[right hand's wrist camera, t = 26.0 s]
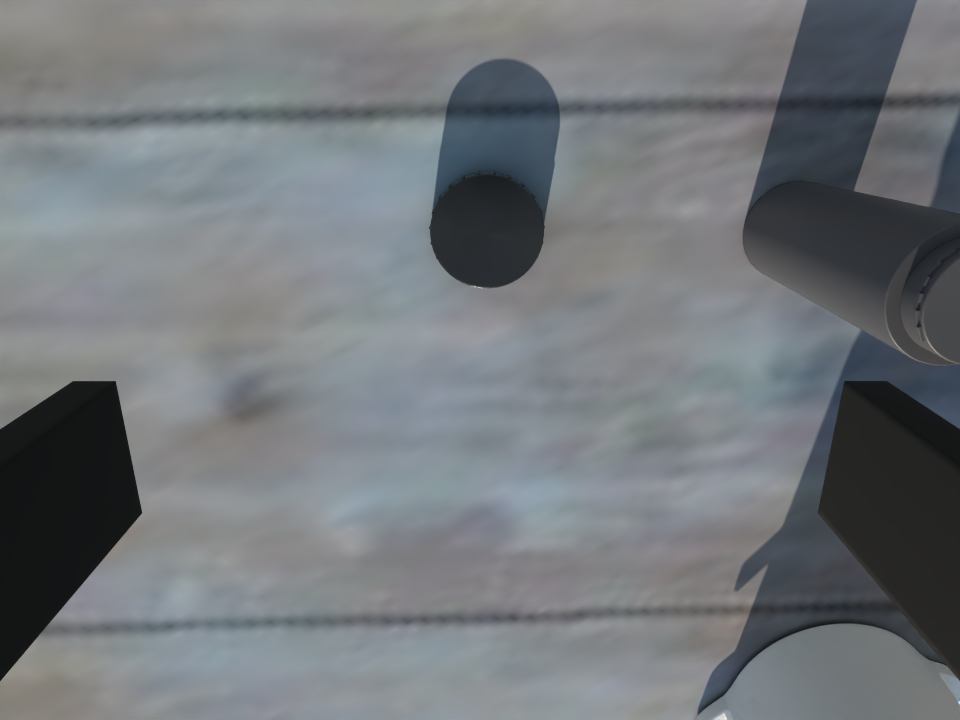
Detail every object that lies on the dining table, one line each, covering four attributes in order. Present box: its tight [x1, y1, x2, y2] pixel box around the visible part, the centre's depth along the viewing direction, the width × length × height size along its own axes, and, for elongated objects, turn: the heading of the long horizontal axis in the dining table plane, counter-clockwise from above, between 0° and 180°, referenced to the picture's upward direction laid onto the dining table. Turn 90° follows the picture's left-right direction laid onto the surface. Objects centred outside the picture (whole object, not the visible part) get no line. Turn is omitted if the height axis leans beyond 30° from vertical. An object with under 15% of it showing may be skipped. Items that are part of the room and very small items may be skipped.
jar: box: [743, 181, 960, 366], centre depth 30 cm, size 5×5×15 cm
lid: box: [429, 171, 545, 288], centre depth 36 cm, size 6×6×2 cm
